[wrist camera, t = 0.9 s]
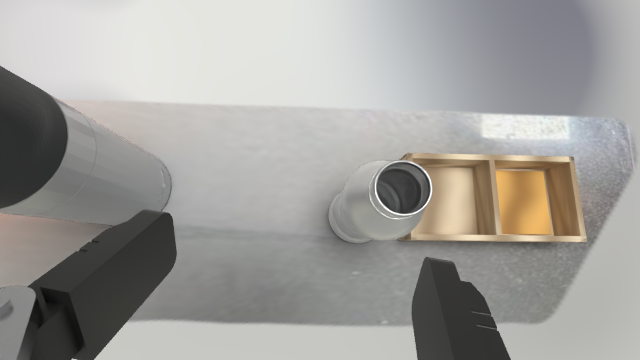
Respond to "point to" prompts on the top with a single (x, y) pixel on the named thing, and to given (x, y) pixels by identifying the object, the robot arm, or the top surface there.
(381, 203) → the plastic bottle
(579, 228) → the tray
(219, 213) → the top surface
